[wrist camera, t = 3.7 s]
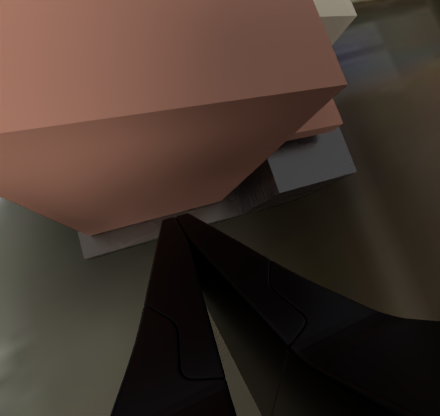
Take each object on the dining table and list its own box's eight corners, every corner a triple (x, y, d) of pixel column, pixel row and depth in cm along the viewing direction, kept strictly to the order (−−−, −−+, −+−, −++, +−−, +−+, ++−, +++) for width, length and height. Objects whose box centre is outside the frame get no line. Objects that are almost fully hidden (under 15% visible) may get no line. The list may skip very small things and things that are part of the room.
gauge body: (295, 199, 17) (358, 171, 12) (89, 259, 13) (47, 256, 8) (240, 45, 19) (274, -40, 14) (40, 59, 15) (-21, -52, 10)
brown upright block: (287, 183, 16) (485, 64, 6) (88, 236, 13) (-107, 148, 3) (269, 131, 16) (429, -49, 7) (72, 169, 13) (-143, -86, 4)
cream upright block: (308, 73, 12) (357, 15, 9) (272, 78, 11) (311, 17, 9) (301, 55, 12) (346, -8, 9) (264, 58, 12) (301, -8, 9)
